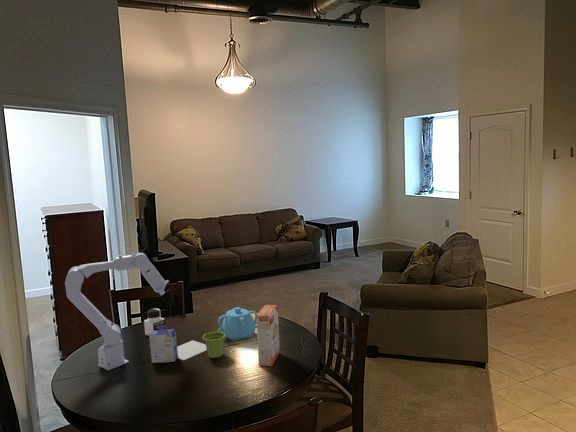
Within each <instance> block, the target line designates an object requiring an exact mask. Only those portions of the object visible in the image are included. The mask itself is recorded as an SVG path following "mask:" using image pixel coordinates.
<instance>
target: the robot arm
mask: <svg viewBox="0 0 576 432" xmlns="http://www.w3.org/2000/svg"><path fill="white" fill-rule="evenodd" d="M134 269H138V270H139V271H140V273H141V275H142V276H143V278H145V280H146V281H147V283H148V284H149V285H150V287H151V288H152V289H153V291H154V292H155V293H158V295H157V299H159V300H161V301H163V302H165V303H166V304H167V305H168V306H169V307H171V308H172V307H173V306H174V305H176V303H175V302H176V301H175V300H174V299H175V298H174V297H175V296H174V294H173V293H172V291H171V288H170V285H169V282H170V280H169V279H167V280H165V279H164V278H163V276H162V275H161V274H160V272H159V271H158V269H157V268H156V267H155V265H154V264H152V262H151V261H150V260H149V258H148V256H147V255H146V254H145V253H143V252H136V253H131V254H130V255H123V254H118V256H117V257H115V258H114V259H113V260H110V261H101V262H93V263H91V262H90V263H85V264H80V265H78V266H77V265H76V266H72V267H70V269H69V270H68V272H67V275H66V276H65V281H64V285H65V293H66V298H67V299H68V300H69V301H70V302H71V303H72V304H73V306H75V307H76V309H78V310H79V311H80V312H81V313H82V314H83V316H85V317H86V318H87V319H88V320H89V321H90V323H91V324H93V325H94V327H96V328H97V330H98V332H99V334H100V335H101V336H102V338H103V340H104V342H103V345H101V346H100V347H99V348H98V349H97V355H98V356H97V359H98V367H100V368H103V369H104V370H106V371H110V370H114V369H115V368H118V367H120V366H123V365H125V364H128V363H129V362H130V361H129V360H128V359H126V358H125V352H124V341H123V339H122V334H121V327H120V326H119V325H118V324H116V323H113V322H112V321H111V320H109V319H108V318H107V317H106V316H104V315H103V313H101V311H100V310H99V309H98V308H97V307H96V306H95V305H94V304H93V303H92V302H91V301H90V300H89V299H88V298H87V297H86V296H85V295H84V294H83V293H82V291H81V290H82V285H83V283H84V280H85V278H86V279H88V278H89V277H90V276H91V275H93V274H94V273H95V274H96V273H99V272H103V271H104V272H105V271H109V270H115V271H117V272H120V271H128V270H134Z"/></svg>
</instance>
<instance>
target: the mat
mask: <svg viewBox="0 0 576 432" xmlns="http://www.w3.org/2000/svg"><path fill="white" fill-rule="evenodd" d="M177 351H178V358H177V360H180V361H187V360H189V359H190V358H194V357H196V356H197V355H198V356H199V355H200V354H202V353H204V352H207V349H206V344H205V343H202V342H199V341H196V340H194V339H193V340H192V339H191V340H190V341H188V342H185V343H183V344H180V345H177Z"/></svg>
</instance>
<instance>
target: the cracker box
mask: <svg viewBox="0 0 576 432" xmlns="http://www.w3.org/2000/svg"><path fill="white" fill-rule="evenodd" d="M257 314H258V315H257V321H256V322H257V324H256V325H257V328H256V330H257V331H256V332H257V334H256V335H257V336H256V337H257V352H258V353H257V355H258V366H259V367H273V366H274V364H275V361H276V359H277V358H278V356H279V354H280V330H279V329H280V327H279V306H278V305H276V304H265V305H264V306H263V307H262V308H261V309H260V310H259V312H257Z"/></svg>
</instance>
